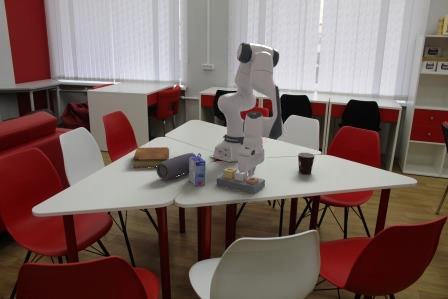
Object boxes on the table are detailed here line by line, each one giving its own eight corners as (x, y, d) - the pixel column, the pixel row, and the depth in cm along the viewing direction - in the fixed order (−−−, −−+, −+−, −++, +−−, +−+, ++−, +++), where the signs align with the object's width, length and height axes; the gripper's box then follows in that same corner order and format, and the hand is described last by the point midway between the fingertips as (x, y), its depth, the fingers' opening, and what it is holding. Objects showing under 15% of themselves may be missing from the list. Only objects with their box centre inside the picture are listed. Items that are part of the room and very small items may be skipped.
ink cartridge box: (205, 185, 184) (206, 156, 180) (194, 186, 182) (195, 157, 178) (199, 178, 193) (199, 151, 189) (188, 179, 191) (188, 152, 187)
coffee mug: (313, 176, 200) (314, 157, 198) (296, 174, 202) (298, 156, 199) (312, 169, 211) (314, 151, 208) (297, 167, 213) (298, 150, 210)
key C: (245, 188, 181) (245, 179, 179) (249, 185, 184) (250, 176, 183) (253, 190, 178) (254, 180, 177) (257, 187, 182) (258, 178, 181)
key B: (234, 181, 183) (234, 172, 182) (239, 178, 186) (239, 169, 185) (242, 183, 181) (243, 173, 179) (247, 180, 184) (247, 171, 183)
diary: (168, 168, 208) (168, 158, 206) (133, 169, 206) (132, 159, 204) (169, 156, 230) (168, 147, 228) (137, 156, 228) (137, 147, 226)
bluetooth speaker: (185, 168, 208) (185, 150, 205) (198, 171, 203) (199, 153, 200) (155, 179, 190) (155, 160, 188) (169, 183, 185) (169, 164, 182)
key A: (223, 178, 186) (224, 169, 184) (228, 176, 189) (228, 167, 188) (231, 180, 184) (231, 171, 182) (236, 178, 187) (236, 169, 186)
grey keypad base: (216, 185, 184) (216, 178, 183) (228, 178, 194) (229, 171, 193) (253, 194, 174) (254, 187, 173) (264, 186, 184) (265, 179, 183)
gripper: (256, 141, 186) (255, 168, 190) (235, 151, 169) (234, 180, 173) (268, 143, 183) (266, 171, 187) (248, 154, 166) (246, 183, 170)
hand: (251, 175), depth 180 cm, fingers closed
